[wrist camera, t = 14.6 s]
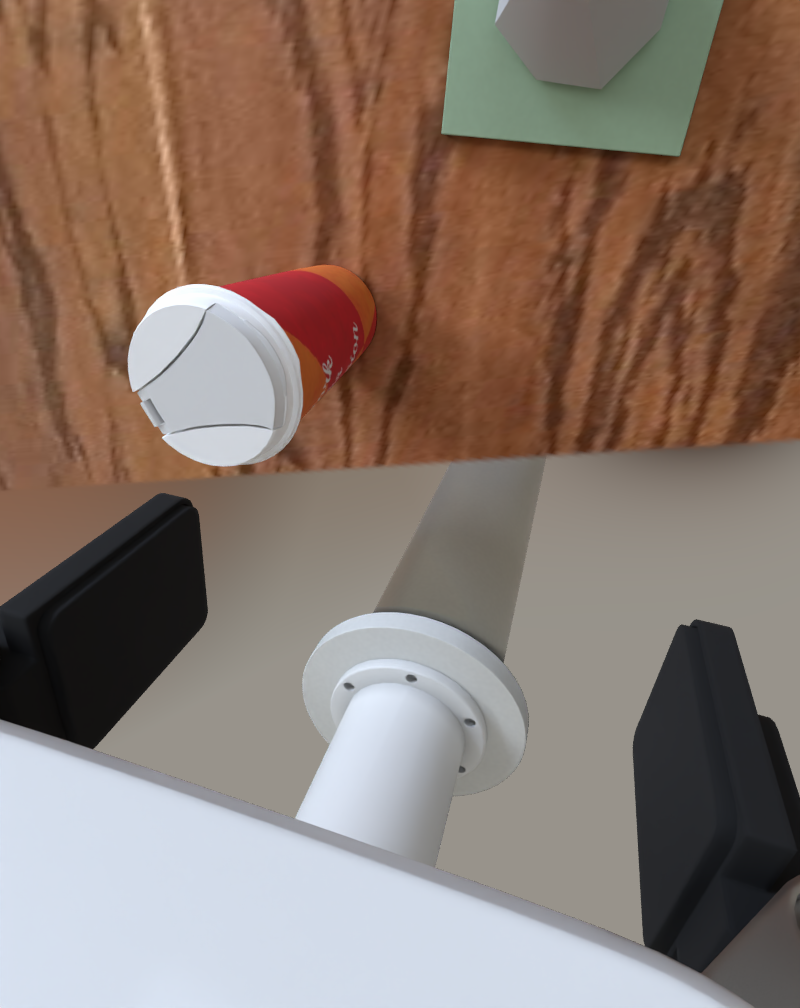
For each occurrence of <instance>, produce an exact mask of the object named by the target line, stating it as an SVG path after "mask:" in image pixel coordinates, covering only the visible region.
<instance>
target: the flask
mask: <svg viewBox="0 0 800 1008" xmlns="http://www.w3.org/2000/svg"><path fill="white" fill-rule="evenodd" d="M668 2H669V0H499V3H498V9H497V15H496V20H495V26H496V27H497V28H498V30H499V31H500V32H501V34H502V35H503V36H504V38H505V39H506V40H507V42H508V43H509V44H510V45H511V47H512V48H513V49H514V51H515V52H516V53H517V55H518V56H519V57H520V59H521V60H522V61H523V63H524V64H525V65H526V67H527V68H528V69H529V71H530V72H531V73H532V75H533V76H534V77H535V79H536V80H541V81H548V82H554V83H561V84H568V85H574V86H581V87H588V88H595V89H602V88H603V87H604V86H605V85H606V84H607V83H608V82H609V81H610V80H611V79H612V78H613V77H614V76H615V75H616V74H617V73H618V72H619V71H620V70H621V69H622V68H623V67H624V66H625V65H626V64H627V63H628V61H629V60H630V59H631V58H632V57H633V56H634V55H635V54H636V53H637V52H638V51H639V50H640V49H641V48H642V47H643V46H644V45H645V44H646V43H647V42H648V41H649V40H650V39H651V38H652V37H653V36H654V35H655V34H656V33H657V32H658V31H659V30H660V29H661V26H662V22H663V19H664V15H665V12H666V9H667V5H668Z"/></svg>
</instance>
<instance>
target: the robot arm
mask: <svg viewBox="0 0 800 1008" xmlns="http://www.w3.org/2000/svg"><path fill="white" fill-rule="evenodd" d="M207 613H208V607H207V597H206V587H205V575H204V565H203V555H202V543H201V533H200V522H199V514H198V511H197V509H196V508H194V507H193V505H192V503H191V501H190V500H188V499H186V498H182V497H178V496H174V495H169V494H165V493H160V494H158V495H156V496H155V497H153V498H152V499H150V500H149V501H148V502H146V503H145V504H143V505H142V506H141V507H139V508H138V509H136V510H135V511H134V512H132V513H131V514H130V515H128V516H126V517H125V518H124V519H122V520H121V521H119V522H118V523H117V524H115V525H114V526H113V527H111V528H110V529H108V530H107V531H106V532H104V533H103V534H102V535H100V536H98V537H97V538H96V539H94V540H93V541H92V542H90V543H89V544H87V545H86V546H84V547H83V548H82V549H80V550H79V551H77V552H76V553H75V554H73V555H72V556H70V557H69V558H68V559H66V560H65V561H63V562H62V563H61V564H59V565H58V566H56V567H55V568H53V569H52V570H51V571H49V572H48V573H46V574H45V575H44V576H42V577H41V578H40V579H38V580H37V581H35V582H34V583H32V584H31V585H30V586H28V587H27V588H26V589H24V590H23V591H22V592H20V593H18V594H17V595H16V596H14V597H13V598H11V599H10V600H9V601H7V602H6V603H4V604H3V605H2V606H0V1008H800V797H799V793H798V790H797V787H796V784H795V781H794V778H793V775H792V772H791V768H790V765H789V763H788V759H787V756H786V753H785V750H784V747H783V744H782V740H781V738H780V734H779V731H778V729H777V727H776V724H775V722H774V721H773V720H771V719H770V718H769V717H765V716H761V715H758V714H757V710H756V707H755V704H754V700H753V697H752V693H751V690H750V686H749V683H748V679H747V676H746V673H745V669H744V666H743V663H742V659H741V656H740V652H739V649H738V645H737V642H736V638H735V635H734V632H733V630H732V629H731V628H730V627H726V626H722V625H718V624H714V623H710V622H705V621H701V620H697V619H696V620H694V621H693V622H692V623H691V625H690V626H686V625H680V626H679V627H678V629H677V631H676V633H675V636H674V638H673V641H672V643H671V645H670V648H669V650H668V653H667V655H666V658H665V660H664V662H663V665H662V668H661V670H660V672H659V675H658V677H657V680H656V682H655V684H654V687H653V689H652V692H651V694H650V697H649V699H648V701H647V704H646V706H645V709H644V711H643V714H642V716H641V719H640V721H639V723H638V726H637V728H636V731H635V735H634V741H633V763H634V781H635V799H636V817H637V835H638V852H639V871H640V889H641V906H642V907H641V908H642V926H643V939H644V944H645V946H643V945H641V944H638V943H636V942H634V941H631V940H629V939H626V938H624V937H622V936H619V935H617V934H615V933H612V932H610V931H608V930H605V929H603V928H600V927H597V926H595V925H592V924H589V923H587V922H584V921H581V920H578V919H575V918H573V917H570V916H568V915H565V914H562V913H560V912H557V911H554V910H551V909H549V908H546V907H543V906H540V905H538V904H535V903H532V902H530V901H527V900H524V899H522V898H519V897H516V896H513V895H511V894H508V893H506V892H502V891H500V890H497V889H495V888H491V887H489V886H486V885H483V884H480V883H477V882H475V881H472V880H469V879H466V878H463V877H460V876H458V875H455V874H452V873H449V872H446V871H443V870H440V869H438V868H435V865H436V861H437V857H438V853H439V849H440V845H441V841H442V837H443V833H444V828H445V824H446V820H447V816H448V812H449V808H450V804H451V800H452V796H453V792H454V788H455V783H456V779H458V778H460V777H463V776H465V775H467V774H468V773H470V772H471V771H472V770H474V769H475V768H476V766H477V765H478V764H479V763H480V762H481V759H482V757H483V755H484V752H485V747H486V742H487V726H486V723H485V720H484V716H483V714H482V712H481V711H480V709H479V707H478V705H477V704H476V702H475V701H474V700H473V699H472V698H471V696H470V695H469V694H468V693H467V692H466V691H465V690H464V689H463V688H462V687H460V686H459V685H458V684H457V683H456V682H454V681H453V680H451V679H450V678H448V677H447V676H445V675H444V674H442V673H440V672H438V671H436V670H434V669H431V668H429V667H427V666H424V665H421V664H418V663H415V662H411V661H405V660H399V659H376V660H369V661H366V662H363V663H360V664H357V665H355V666H354V667H352V668H351V669H349V670H347V671H346V672H345V674H344V675H343V676H342V677H341V678H340V680H339V682H338V683H337V685H336V687H335V689H334V691H333V694H332V697H331V709H330V710H331V714H332V719H333V722H334V724H335V726H336V728H337V731H336V733H335V735H334V737H333V739H332V741H331V743H330V745H329V747H328V750H327V752H326V754H325V756H324V758H323V760H322V762H321V764H320V766H319V769H318V771H317V773H316V775H315V777H314V779H313V781H312V783H311V785H310V788H309V790H308V792H307V794H306V796H305V798H304V800H303V802H302V804H301V807H300V809H299V811H298V813H297V815H296V817H295V818H292V817H289V816H286V815H283V814H280V813H277V812H275V811H272V810H269V809H266V808H263V807H260V806H257V805H254V804H251V803H248V802H246V801H243V800H240V799H237V798H234V797H231V796H228V795H225V794H222V793H219V792H217V791H214V790H211V789H208V788H205V787H202V786H199V785H196V784H193V783H190V782H188V781H185V780H182V779H178V778H176V777H172V776H170V775H167V774H164V773H161V772H158V771H155V770H152V769H149V768H146V767H143V766H140V765H137V764H134V763H132V762H129V761H126V760H122V759H120V758H117V757H114V756H111V755H108V754H105V753H102V752H99V751H96V750H93V749H94V748H95V747H96V746H97V745H98V744H99V742H100V741H101V740H102V739H103V738H104V737H105V736H106V735H107V733H108V732H109V731H110V730H111V729H112V728H113V727H114V726H115V724H116V723H117V722H118V721H119V720H120V719H121V718H122V716H123V715H124V714H125V713H126V712H127V711H128V710H129V709H130V708H131V706H132V705H133V704H134V703H135V702H136V701H137V700H138V699H139V697H140V696H141V695H142V694H143V693H144V692H145V691H146V690H147V688H148V687H149V686H150V685H151V684H152V683H153V682H154V681H155V679H156V678H157V677H158V676H159V675H160V674H161V673H162V672H163V670H164V669H165V668H166V667H167V666H168V665H169V664H170V662H172V660H173V659H174V658H175V657H176V656H177V655H178V654H179V653H180V651H181V650H182V649H183V648H184V647H185V646H186V645H187V643H188V642H189V641H190V640H191V639H192V638H193V637H194V636H195V635H196V633H197V632H198V631H199V630H200V629H201V628H202V626H203V625H204V623H205V620H206V618H207Z"/></svg>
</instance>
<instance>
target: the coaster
mask: <svg viewBox="0 0 800 1008" xmlns="http://www.w3.org/2000/svg"><path fill="white" fill-rule="evenodd" d="M723 1H724V0H669V2H668V5H667V9H666V12H665V15H664V19H663V22H662V26H661V29H660V30H659V31H658V32H657V33H656V34H655V35H654V36H653V37H652V38H651V39H650V40H649V41H648V42H647V43H646V44H645V45H644V46H643V47H642V48H641V49H640V50H639V51H638V52H637V53H636V54H635V55H634V56H633V57H632V58H631V59H630V60H629V61H628V63H627V64H626V65H625V66H624V67H623V68H622V69H621V70H620V71H619V72H618V73H617V74H616V75H615V76H614V77H613V78H612V79H611V80H610V81H609V82H608V83H607V84H606V85H605V86H604V87H603V88H602V89H595V88H588V87H581V86H574V85H568V84H561V83H554V82H548V81H541V80H536V79H535V77H534V76H533V75H532V73H531V72H530V71H529V69H528V68H527V67H526V65H525V64H524V63H523V61H522V60H521V59H520V57H519V56H518V55H517V53H516V52H515V51H514V49H513V48H512V47H511V45H510V44H509V43H508V42H507V40H506V39H505V38H504V36H503V35H502V34H501V32H500V31H499V30H498V28H497V27H496V26H495V20H496V15H497V9H498V3H499V0H455V3H454V13H453V23H452V33H451V43H450V53H449V63H448V73H447V83H446V93H445V103H444V113H443V123H442V134H445V135H455V136H466V137H476V138H487V139H498V140H508V141H519V142H529V143H540V144H550V145H561V146H572V147H582V148H593V149H603V150H614V151H624V152H635V153H646V154H656V155H667V156H677V157H679V156H680V154H681V150H682V147H683V143H684V140H685V136H686V133H687V129H688V126H689V122H690V118H691V115H692V111H693V108H694V104H695V101H696V97H697V93H698V90H699V86H700V83H701V79H702V76H703V72H704V69H705V65H706V61H707V58H708V54H709V51H710V47H711V44H712V40H713V37H714V33H715V29H716V26H717V22H718V19H719V15H720V12H721V8H722V4H723Z"/></svg>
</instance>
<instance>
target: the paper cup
mask: <svg viewBox="0 0 800 1008" xmlns="http://www.w3.org/2000/svg"><path fill="white" fill-rule="evenodd" d="M376 324H377V312H376V306H375V303H374V300H373V297H372V295H371V293H370V291H369V289H368V288H367V286H366V285H365V284H364V282H363V281H362V280H361V279H360V278H359V277H358V276H356V275H355V274H354V273H352V272H351V271H349V270H347V269H345V268H342V267H339V266H334V265H318V266H312V267H306V268H301V269H297V270H292V271H287V272H282V273H278V274H273V275H269V276H264V277H260V278H255V279H251V280H246V281H242V282H237V283H233V284H229V285H224V286H220V287H218V286H212V285H206V284H191V285H187V286H182V287H178V288H176V289H173V290H171V291H169V292H167V293H165V294H164V295H163V296H161V297H160V298H159V299H157V300H156V301H155V303H154V304H153V305H152V306H151V307H150V308H149V310H148V311H147V313H146V315H145V317H144V319H143V320H142V321H141V322H140V324H139V325H138V327H137V329H136V331H135V332H134V335H133V338H132V341H131V343H130V348H129V354H128V372H129V379H130V384H131V387H132V391H133V392H134V391H136V390H138V389H139V392H138V395H139V396H140V398H141V400H142V401H143V402H142V403H140V404H141V406H142V407H143V409H144V411H145V412H146V414H147V415H148V417H149V419H150V420H151V422H152V423H153V425H154V426H155V427H156V426H158V427H159V428H160V430H161V432H162V433H163V434H166V435H165V436H164V437H162V439H163V440H164V441H166V442H167V443H168V444H169V445H170V446H171V447H173V448H174V449H176V450H177V451H178V452H180V453H182V454H183V455H185V456H187V457H189V458H191V459H193V460H196V461H198V462H201V463H205V464H209V465H214V466H224V467H226V466H237V465H244V464H254V463H258V462H261V461H264V460H266V459H268V458H271V457H273V456H274V455H276V454H277V453H278V452H279V451H281V450H282V449H283V448H284V447H285V446H286V445H287V444H288V442H289V441H290V440H291V439H292V437H293V435H294V433H295V432H296V430H297V427H298V424H299V422H300V420H301V419H302V418H303V417H304V415H305V414H306V413H307V412H308V411H309V410H310V409H311V408H312V407H313V406H314V405H315V404H316V403H317V402H318V401H319V400H320V399H321V398H322V397H323V396H324V394H325V393H326V392H327V391H328V390H329V389H330V388H331V387H332V386H333V385H334V384H335V383H336V382H337V381H338V380H339V379H340V378H341V376H342V375H343V374H344V373H345V372H346V371H347V370H348V369H349V368H350V367H351V366H352V365H353V364H354V362H355V361H356V360H357V359H358V358H359V357H360V356H361V355H362V353H363V352H364V351H365V350H366V348H367V347H368V346H369V344H370V342H371V341H372V338H373V336H374V333H375V330H376Z"/></svg>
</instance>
